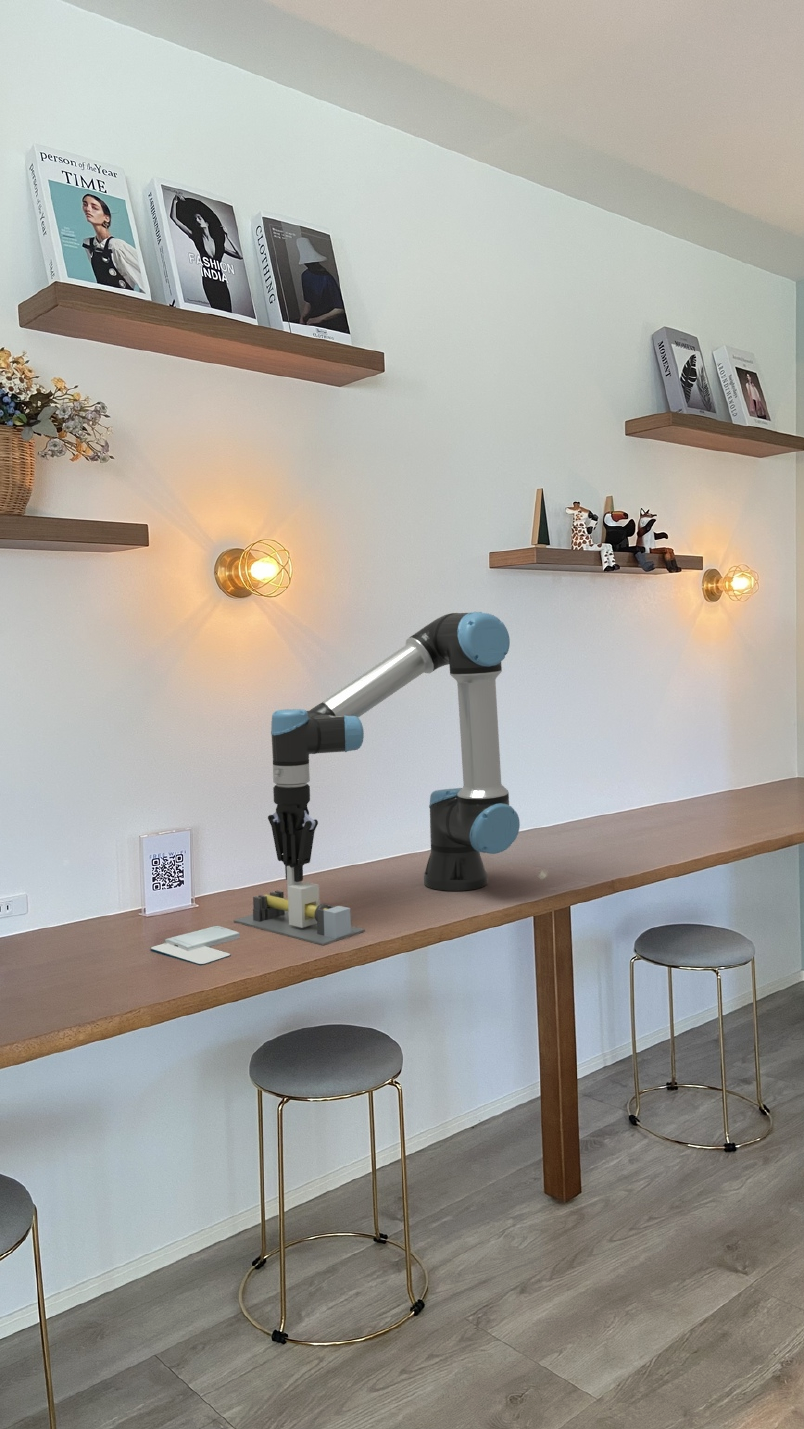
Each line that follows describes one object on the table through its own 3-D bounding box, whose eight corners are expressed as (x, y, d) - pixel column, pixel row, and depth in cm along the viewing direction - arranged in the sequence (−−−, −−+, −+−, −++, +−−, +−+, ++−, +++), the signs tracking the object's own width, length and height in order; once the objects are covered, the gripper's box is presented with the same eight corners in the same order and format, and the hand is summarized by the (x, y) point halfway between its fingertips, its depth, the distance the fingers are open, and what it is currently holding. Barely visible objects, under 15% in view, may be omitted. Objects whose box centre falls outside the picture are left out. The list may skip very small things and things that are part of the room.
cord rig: (233, 921, 226) (232, 894, 225) (275, 909, 235) (275, 883, 234) (323, 945, 208) (322, 916, 208) (364, 931, 217) (364, 903, 217)
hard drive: (216, 924, 220) (164, 938, 211) (239, 932, 214) (187, 946, 205) (216, 932, 220) (164, 946, 211) (240, 940, 214) (187, 954, 205)
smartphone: (233, 958, 203) (180, 942, 213) (233, 954, 203) (180, 938, 213) (201, 969, 197) (147, 952, 207) (201, 964, 197) (147, 948, 207)
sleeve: (288, 924, 220) (287, 886, 219) (306, 919, 223) (305, 881, 223) (302, 927, 217) (301, 889, 216) (319, 922, 221) (318, 884, 220)
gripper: (256, 783, 221) (260, 894, 223) (299, 789, 212) (303, 904, 214) (283, 779, 226) (287, 887, 229) (326, 784, 218) (329, 897, 220)
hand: (294, 895), depth 221 cm, fingers closed
